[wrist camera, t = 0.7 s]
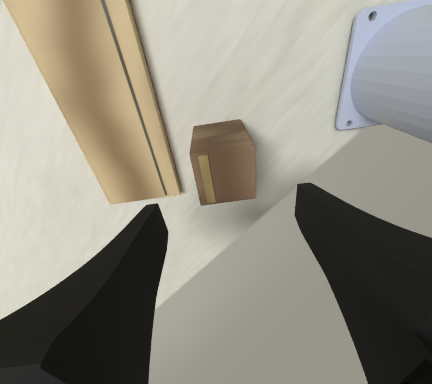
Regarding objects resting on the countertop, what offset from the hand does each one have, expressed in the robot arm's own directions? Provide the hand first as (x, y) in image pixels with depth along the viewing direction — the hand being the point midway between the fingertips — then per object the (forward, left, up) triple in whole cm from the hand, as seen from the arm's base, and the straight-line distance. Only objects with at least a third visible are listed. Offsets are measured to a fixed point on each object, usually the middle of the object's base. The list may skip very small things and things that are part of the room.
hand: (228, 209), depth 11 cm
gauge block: (0, 0, -9) cm, 9 cm away
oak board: (+8, -7, -9) cm, 14 cm away
